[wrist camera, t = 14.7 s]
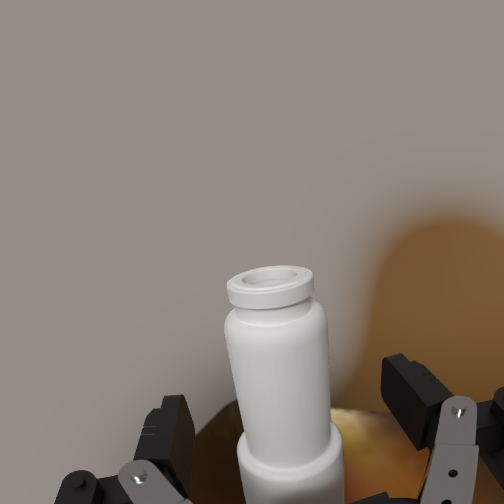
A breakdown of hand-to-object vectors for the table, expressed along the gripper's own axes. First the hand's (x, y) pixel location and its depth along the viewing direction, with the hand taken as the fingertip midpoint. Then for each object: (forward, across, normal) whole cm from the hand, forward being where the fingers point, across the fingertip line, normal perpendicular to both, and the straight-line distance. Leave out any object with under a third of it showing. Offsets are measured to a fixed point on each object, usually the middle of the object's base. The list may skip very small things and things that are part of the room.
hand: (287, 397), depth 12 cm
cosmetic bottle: (-2, 0, +16) cm, 17 cm away
